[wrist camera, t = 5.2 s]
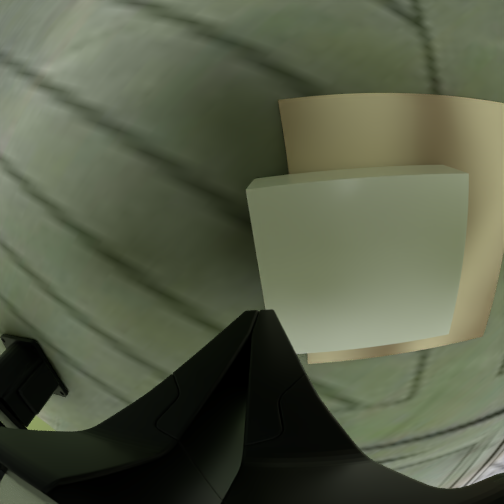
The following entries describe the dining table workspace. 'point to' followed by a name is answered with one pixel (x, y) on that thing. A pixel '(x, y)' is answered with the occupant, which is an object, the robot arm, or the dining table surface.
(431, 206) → the tile
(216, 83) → the dining table surface
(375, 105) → the mat
